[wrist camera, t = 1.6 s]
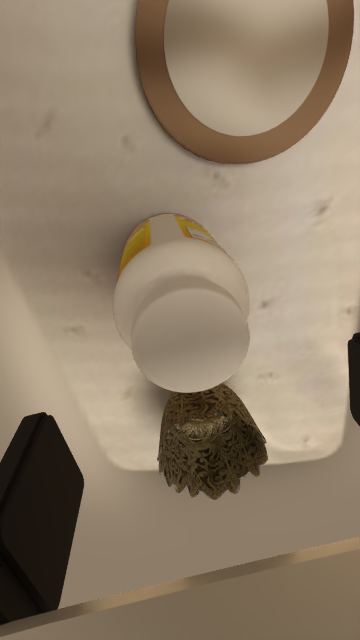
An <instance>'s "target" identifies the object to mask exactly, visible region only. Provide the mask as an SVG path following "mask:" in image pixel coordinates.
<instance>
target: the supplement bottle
mask: <svg viewBox="0 0 360 640" xmlns="http://www.w3.org/2000/svg"><path fill="white" fill-rule="evenodd" d="M248 314H249V292H248V287H247V284H246V281H245V278H244V276H243V274H242V272H241V271H240V269H239V267H238V266H237V265H236V263H235V262H234V261H233V260H232V259H231V258H230V256H229V255H228V254H227V253H226V252H225V251H224V250H223V249H222V248H221V247H220V246H219V244H218V243H217V242H216V241H215V240H214V239H213V238H212V237H211V235H210V234H209V233H208V232H207V231H206V230H205V229H204V228H203V227H202V226H201V225H199V224H198V223H197V222H195V221H194V220H192V219H190V218H188V217H185V216H182V215H178V214H161V215H157V216H154V217H151V218H149V219H147V220H145V221H144V222H142V223H141V224H140V225H139V226H137V227H136V228H135V229H134V231H133V232H132V233H131V235H130V236H129V238H128V240H127V242H126V245H125V248H124V251H123V255H122V260H121V264H120V269H119V273H118V278H117V282H116V286H115V291H114V297H113V315H114V320H115V323H116V326H117V329H118V331H119V334H120V335H121V337H122V339H123V340H124V342H125V343H126V344H127V346H128V347H129V348H130V349H131V350H132V353H133V357H134V360H135V362H136V364H137V366H138V368H139V369H140V370H141V372H142V373H143V374H144V375H145V376H146V377H147V378H148V379H149V380H150V381H151V382H153V383H154V384H156V385H158V386H160V387H162V388H164V389H167V390H171V391H175V392H182V393H191V392H199V391H204V390H207V389H210V388H213V387H215V386H217V385H219V384H221V383H222V382H224V381H225V380H227V379H228V378H229V377H231V376H232V375H233V374H234V373H235V372H236V371H237V369H238V368H239V367H240V365H241V364H242V362H243V360H244V358H245V356H246V354H247V351H248V346H249V340H250V334H249V327H248V323H247V318H248Z"/></svg>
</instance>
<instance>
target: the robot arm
mask: <svg viewBox="0 0 360 640" xmlns="http://www.w3.org/2000/svg"><path fill="white" fill-rule="evenodd" d="M348 364H349V389H350V410H351V414H352V416H353V418H354V420H355V421H356V422H357V423H358V425H359V426H360V332H359V333H355V334H354V335H353V337H352V339H351V340H349V341H348ZM83 488H84V479H83V475H82V473H81V471H80V469H79V467H78V465H77V463H76V461H75V459H74V457H73V455H72V453H71V451H70V449H69V447H68V445H67V443H66V441H65V439H64V437H63V435H62V433H61V431H60V429H59V427H58V425H57V423H56V421H55V420H54V418H53V416H51V415H47V414H46V413H45V412H41V413H37V414H33V415H29V416H26V417H24V418H23V420H22V421H21V423H20V425H19V427H18V429H17V431H16V433H15V435H14V437H13V439H12V441H11V443H10V445H9V447H8V448H7V450H6V452H5V454H4V456H3V458H2V460H1V462H0V640H360V537H356V538H352V539H348V540H343V541H340V542H335V543H330V544H326V545H322V546H318V547H313V548H309V549H305V550H301V551H296V552H292V553H288V554H284V555H279V556H276V557H271V558H267V559H262V560H258V561H254V562H250V563H246V564H241V565H237V566H233V567H229V568H225V569H221V570H216V571H212V572H208V573H204V574H200V575H195V576H192V577H187V578H183V579H179V580H175V581H171V582H167V583H163V584H159V585H155V586H150V587H146V588H142V589H138V590H134V591H130V592H126V593H122V594H117V595H113V596H109V597H105V598H101V599H97V600H93V601H89V602H85V603H81V604H77V605H73V606H69V607H66V608H61V609H58V606H59V603H60V599H61V594H62V589H63V585H64V580H65V575H66V570H67V565H68V561H69V556H70V550H71V546H72V541H73V537H74V532H75V527H76V522H77V517H78V513H79V508H80V503H81V498H82V493H83ZM57 609H58V610H57Z"/></svg>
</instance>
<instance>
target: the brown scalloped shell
mask: <svg viewBox="0 0 360 640" xmlns="http://www.w3.org/2000/svg"><path fill="white" fill-rule="evenodd" d="M265 443H266V440H265V438H264V436H263V435H262V433H261V432H260V430H259V428H258V427H257V425H256V423H255V422H254V420H253V418H252V417H251V415H250V413H249V412H248V410H247V408H246V407H245V405H244V404H243V402H242V401H241V400H240V398H239V397H238V396H237V394H236V393H235V392H234V391H233V390H231V389H230V388H229V387H227V386H226V385H224V384H222V383H221V384H219V385H217V386H215V387H213V388H210V389H207V390H204V391H199V392H191V393H182V392H174V393H173V395H172V396H171V397H170V399H169V400H168V402H167V404H166V407H165V410H164V413H163V418H162V424H161V433H160V443H159V454H158V458H157V461H159V474H160V475H161V473H163V472H164V476H165V477H166V481H167V484H168V486H169V487H170V486H171V485H172V483H173V486H174V488H175V490H176V491H177V492H178V493H180V492H181V491H182V490H183V489H184V488H185V486H186V485H187V487H188V489H189V493H190V496H191V497H195V496H196V495H198V493H199V491H202V492H204V493H205V495H206V496H208V497H209V498H211V499H214V500H216V499H218V498H219V497H221V495H223V494H224V493H225V491H226V490H229V491H230V492H231V493H233V494H236V493H238V491H239V490H240V486H239V485H240V479H239V478H240V477H242V476H244V477H246V475H247V472H249V471H250V472H251V473H252V475H253V476H254V477H256V476H259V474H260V465H263V464H265V463H266V461H267V460H268V456H267V451H266V447H265V445H264V444H265ZM259 464H260V465H259ZM198 490H199V491H198Z"/></svg>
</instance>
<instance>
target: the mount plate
mask: <svg viewBox="0 0 360 640" xmlns="http://www.w3.org/2000/svg"><path fill="white" fill-rule="evenodd" d="M353 25H354V6H353V0H138V5H137V13H136V30H135V38H136V52H137V62H138V68H139V73H140V78H141V82H142V85H143V89H144V92H145V95H146V97H147V99H148V102H149V104H150V106H151V108H152V110H153V112H154V114H155V115H156V117H157V119H158V120H159V122H160V123H161V125H162V126H163V127H164V129H165V130H166V131H167V132H168V133H169V134H170V135H171V136H172V137H173V139H174V140H175V141H177V142H178V143H179V144H180V145H182V146H183V147H184V148H185V149H187V150H189V151H190V152H192V153H194V154H195V155H197V156H200V157H202V158H204V159H207V160H211V161H214V162H218V163H228V164H246V163H253V162H258V161H262V160H265V159H268V158H271V157H274V156H276V155H278V154H280V153H282V152H284V151H285V150H287V149H288V148H290V147H291V146H293V145H294V144H296V143H297V142H298V141H299V140H301V139H302V138H303V137H304V136H305V135H306V134H307V133H308V132H309V131H310V130H311V129H312V128H313V127H314V126H315V125H316V124H317V123H318V121H319V120H320V119H321V117H322V116H323V114H324V113H325V112H326V110H327V109H328V107H329V105H330V104H331V102H332V100H333V98H334V97H335V94H336V92H337V90H338V88H339V86H340V84H341V81H342V78H343V75H344V73H345V70H346V67H347V63H348V59H349V55H350V50H351V44H352V37H353Z"/></svg>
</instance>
